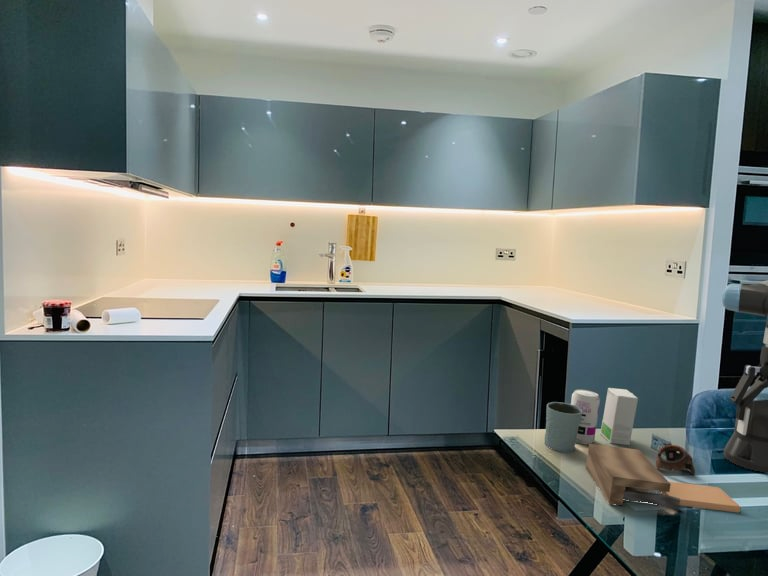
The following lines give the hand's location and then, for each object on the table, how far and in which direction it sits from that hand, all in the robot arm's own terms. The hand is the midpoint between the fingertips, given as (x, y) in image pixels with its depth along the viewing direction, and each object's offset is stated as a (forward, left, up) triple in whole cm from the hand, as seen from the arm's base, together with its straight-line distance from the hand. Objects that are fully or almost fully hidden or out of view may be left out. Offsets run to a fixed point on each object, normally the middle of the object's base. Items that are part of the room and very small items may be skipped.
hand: (765, 435), depth 133 cm
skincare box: (+22, -36, -18) cm, 46 cm away
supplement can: (+34, -32, -18) cm, 50 cm away
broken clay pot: (+12, -17, -18) cm, 28 cm away
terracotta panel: (+14, 0, -19) cm, 23 cm away
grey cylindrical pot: (+42, -24, -18) cm, 52 cm away
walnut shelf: (+30, 0, -18) cm, 35 cm away
